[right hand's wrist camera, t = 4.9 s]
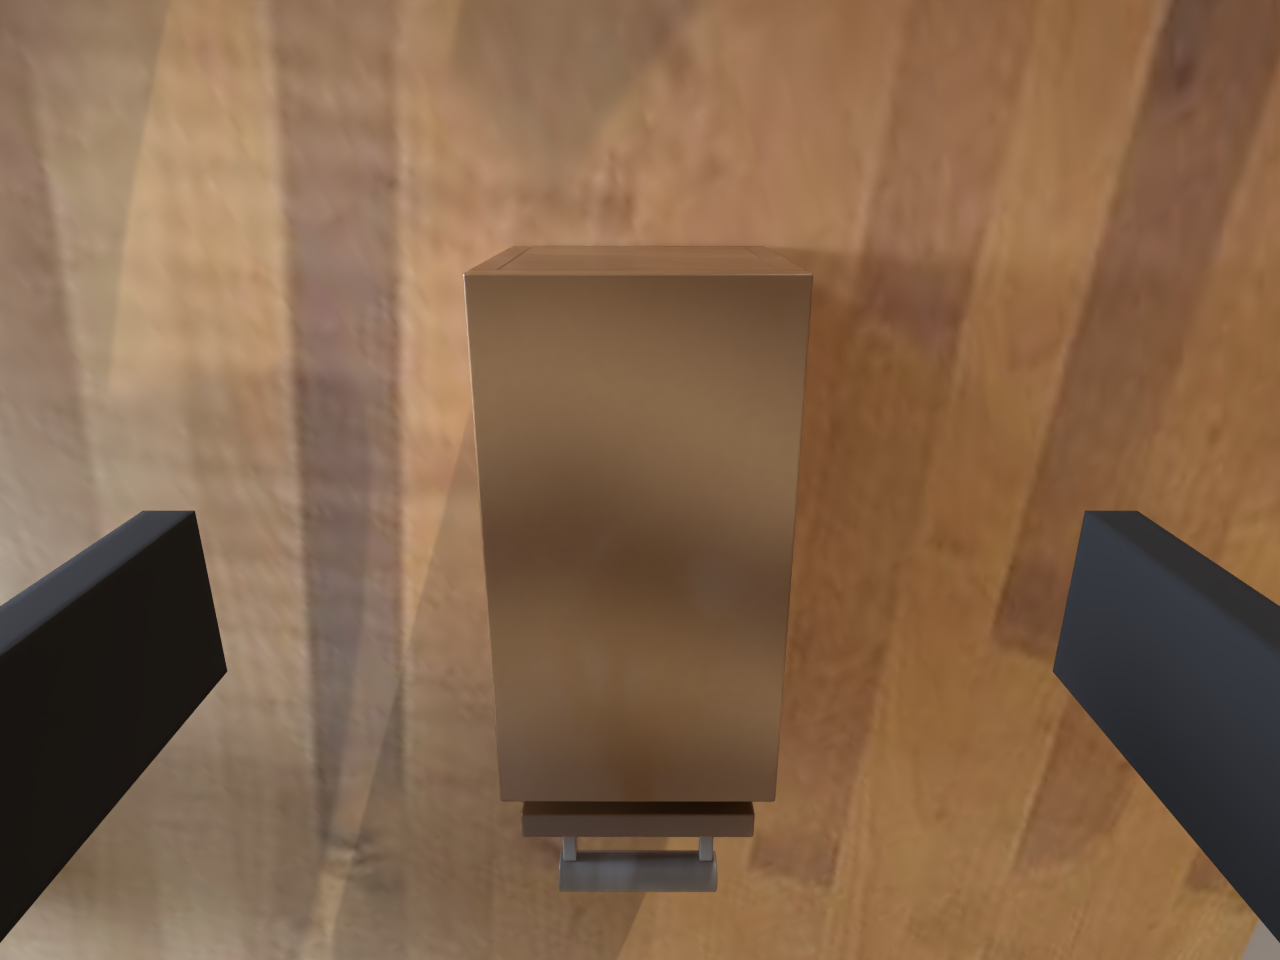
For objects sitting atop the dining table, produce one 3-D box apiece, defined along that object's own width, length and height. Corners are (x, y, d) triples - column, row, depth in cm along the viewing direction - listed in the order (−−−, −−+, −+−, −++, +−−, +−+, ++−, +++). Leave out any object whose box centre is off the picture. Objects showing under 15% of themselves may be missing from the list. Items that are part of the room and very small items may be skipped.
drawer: (727, 800, 44) (747, 939, 36) (548, 799, 44) (528, 939, 36) (749, 341, 36) (781, 390, 28) (527, 341, 36) (494, 389, 28)
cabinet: (743, 656, 42) (775, 802, 32) (532, 655, 42) (500, 802, 32) (765, 246, 35) (813, 273, 25) (512, 245, 35) (462, 273, 25)
